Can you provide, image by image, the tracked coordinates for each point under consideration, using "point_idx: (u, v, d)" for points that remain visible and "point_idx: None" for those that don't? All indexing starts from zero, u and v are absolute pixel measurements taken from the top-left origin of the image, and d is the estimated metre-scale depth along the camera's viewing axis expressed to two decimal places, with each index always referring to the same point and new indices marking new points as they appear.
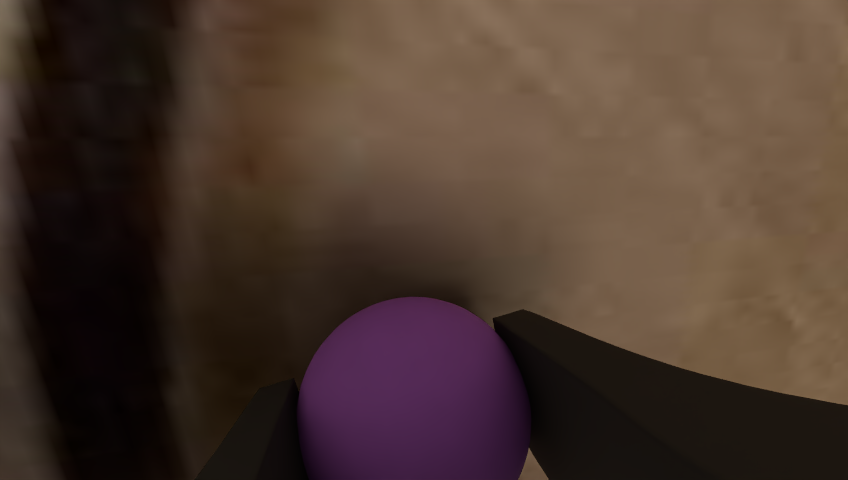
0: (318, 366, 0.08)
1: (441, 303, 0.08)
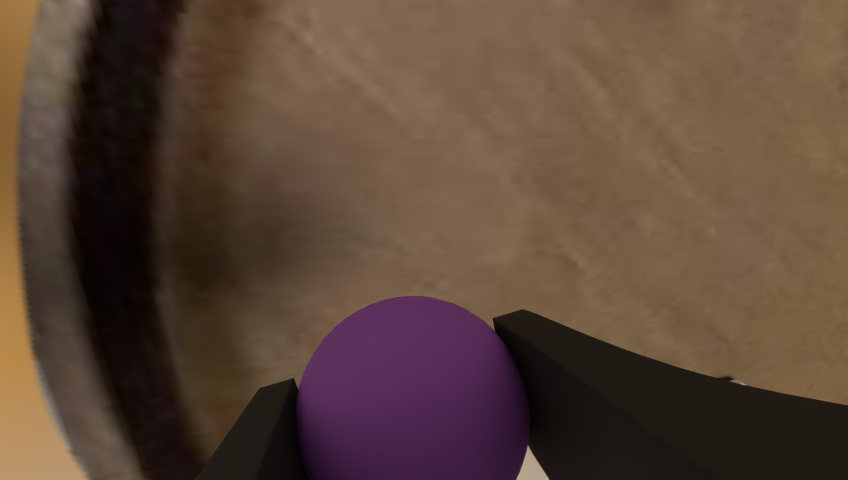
0: (316, 366, 0.08)
1: (440, 302, 0.08)
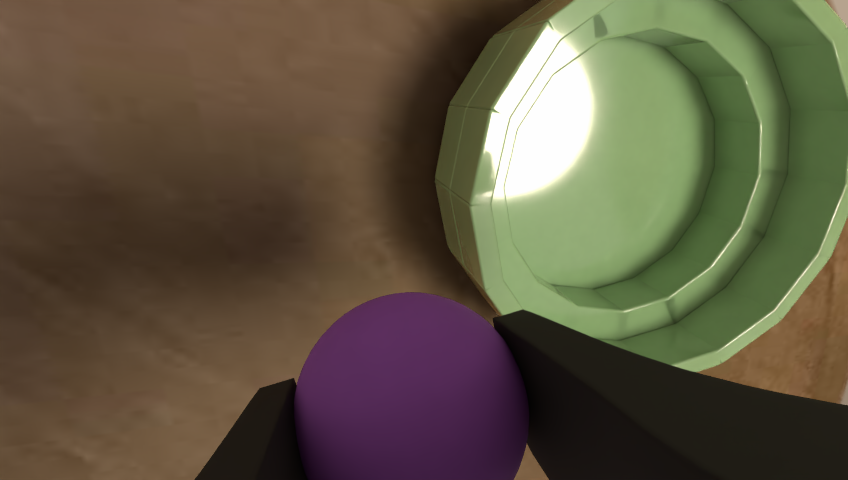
0: (314, 362, 0.08)
1: (438, 298, 0.08)
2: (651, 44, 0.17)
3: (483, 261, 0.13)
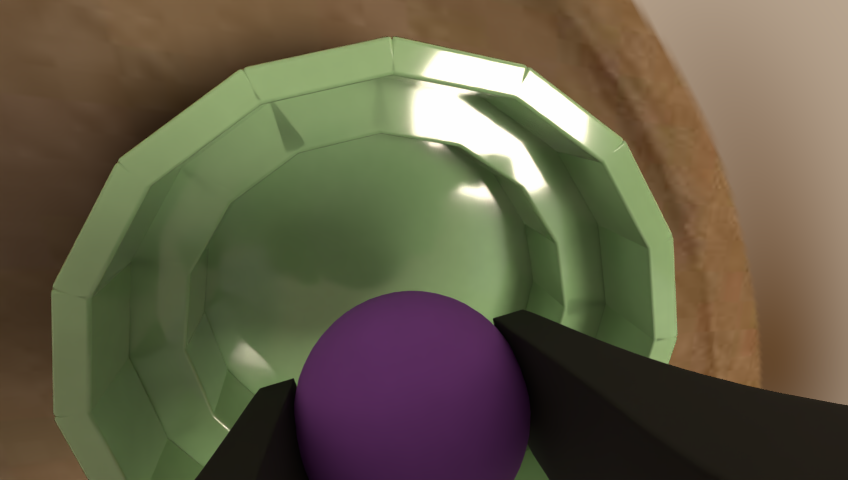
0: (315, 360, 0.08)
1: (440, 297, 0.08)
2: None
3: None
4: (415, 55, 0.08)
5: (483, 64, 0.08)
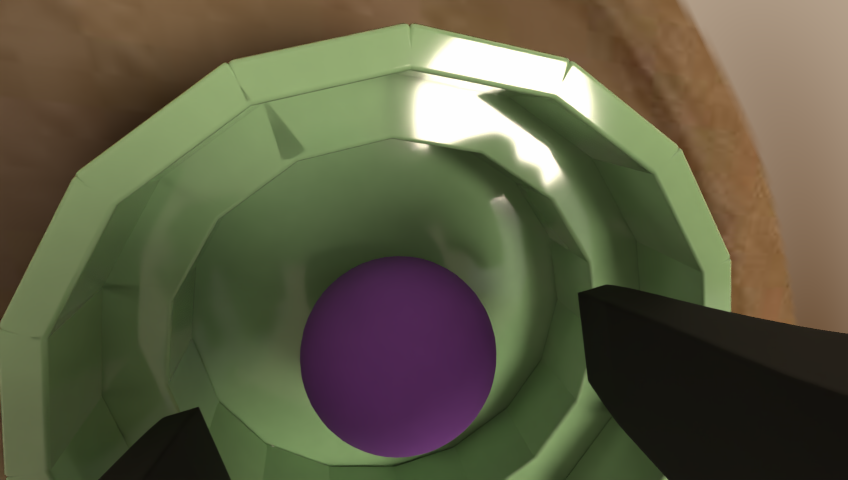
0: (318, 309, 0.09)
1: (421, 260, 0.10)
2: None
3: None
4: (437, 46, 0.07)
5: (518, 57, 0.07)
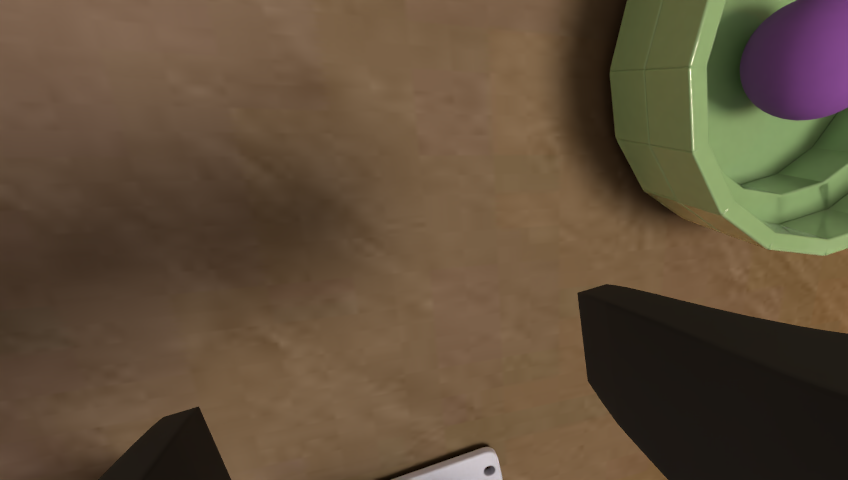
0: (785, 19, 0.16)
1: None
2: None
3: (694, 123, 0.14)
4: None
5: None
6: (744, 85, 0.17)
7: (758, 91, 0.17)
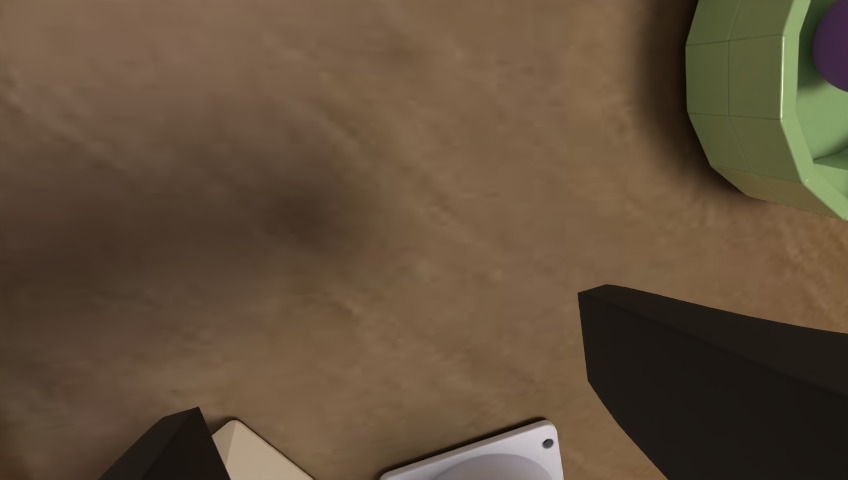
0: None
1: None
2: None
3: (784, 90, 0.15)
4: None
5: None
6: (819, 61, 0.18)
7: (836, 65, 0.17)
